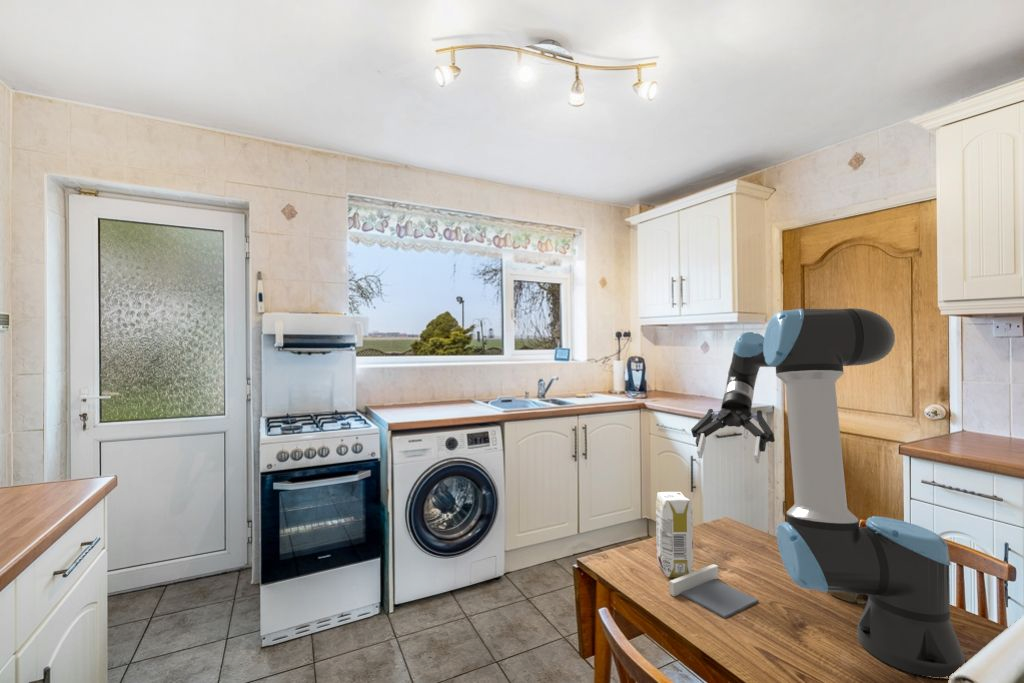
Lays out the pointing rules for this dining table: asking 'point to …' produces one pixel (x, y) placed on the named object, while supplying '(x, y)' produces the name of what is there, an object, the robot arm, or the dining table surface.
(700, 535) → the dining table surface
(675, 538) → the juice carton
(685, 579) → the fence
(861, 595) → the bread roll
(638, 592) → the dining table surface
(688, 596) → the mat
